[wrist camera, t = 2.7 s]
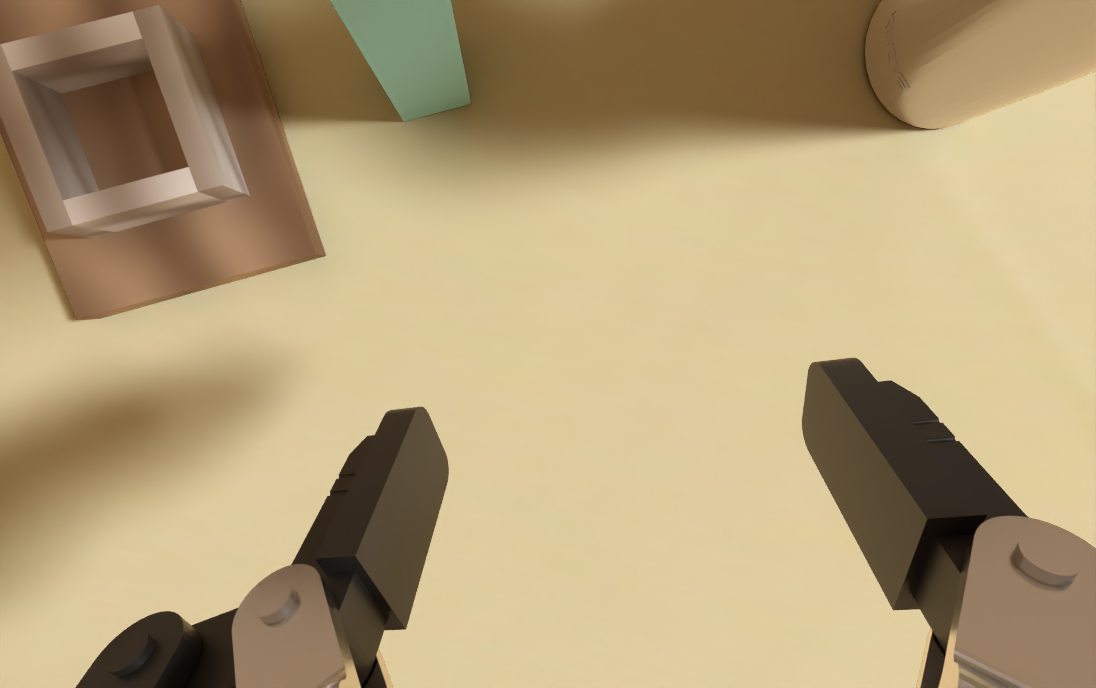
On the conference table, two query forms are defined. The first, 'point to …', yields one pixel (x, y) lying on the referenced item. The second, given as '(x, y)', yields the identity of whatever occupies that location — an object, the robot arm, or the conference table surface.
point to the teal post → (410, 52)
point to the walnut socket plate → (148, 148)
